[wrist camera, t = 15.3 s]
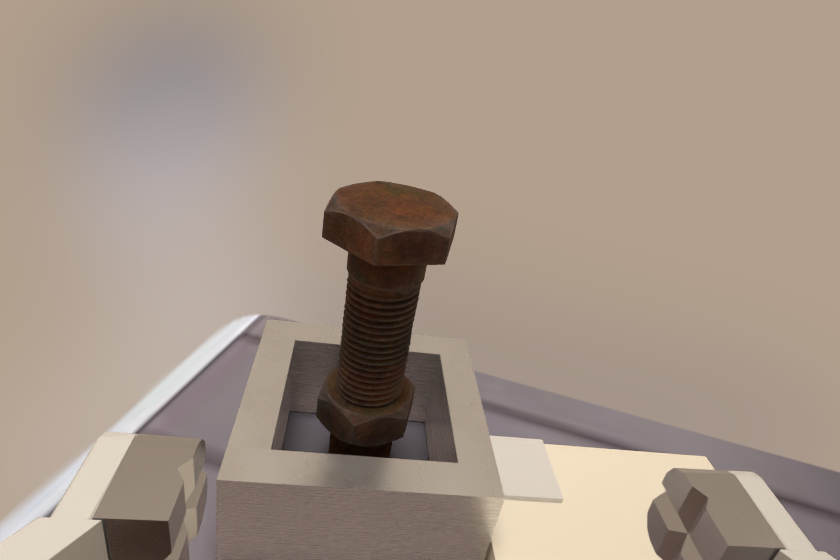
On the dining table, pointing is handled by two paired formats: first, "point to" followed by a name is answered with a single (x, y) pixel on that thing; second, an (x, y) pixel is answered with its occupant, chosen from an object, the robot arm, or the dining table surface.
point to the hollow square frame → (356, 464)
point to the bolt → (379, 308)
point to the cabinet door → (577, 500)
